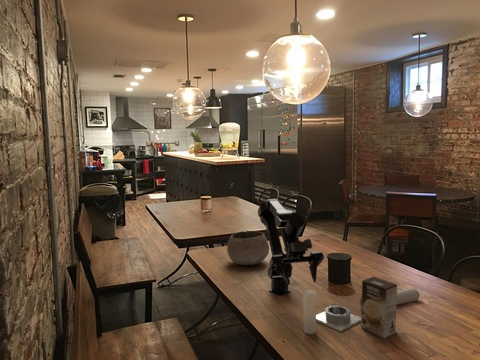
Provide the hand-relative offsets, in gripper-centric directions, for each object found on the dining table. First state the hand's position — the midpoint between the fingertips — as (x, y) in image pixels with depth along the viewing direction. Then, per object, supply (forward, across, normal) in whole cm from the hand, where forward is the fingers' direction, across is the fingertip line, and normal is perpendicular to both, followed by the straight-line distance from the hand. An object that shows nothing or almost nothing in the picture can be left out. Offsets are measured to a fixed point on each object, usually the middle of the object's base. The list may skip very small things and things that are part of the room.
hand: (302, 283), depth 134 cm
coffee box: (+18, +21, 0) cm, 28 cm away
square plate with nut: (+11, +12, +7) cm, 18 cm away
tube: (+7, +36, +12) cm, 39 cm away
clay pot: (-35, -4, +56) cm, 66 cm away
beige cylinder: (+15, 0, +4) cm, 15 cm away
